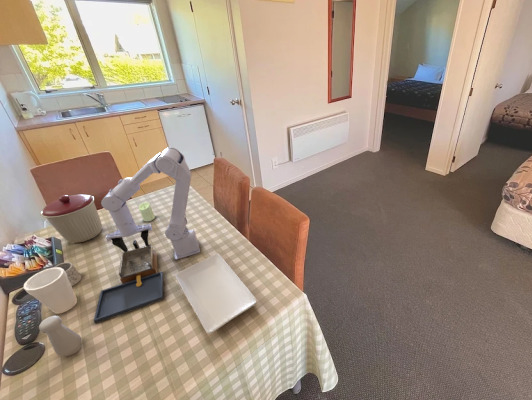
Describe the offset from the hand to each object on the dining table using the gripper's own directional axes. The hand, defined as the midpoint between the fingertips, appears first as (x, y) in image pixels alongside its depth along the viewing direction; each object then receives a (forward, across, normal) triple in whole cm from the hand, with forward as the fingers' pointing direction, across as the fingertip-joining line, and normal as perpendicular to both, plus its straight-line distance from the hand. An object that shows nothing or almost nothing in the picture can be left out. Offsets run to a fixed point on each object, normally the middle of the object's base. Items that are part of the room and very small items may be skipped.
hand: (137, 248), depth 106 cm
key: (+4, 0, +15) cm, 15 cm away
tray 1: (+5, +2, +21) cm, 21 cm away
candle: (+1, -2, -31) cm, 31 cm away
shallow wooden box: (+5, 0, +7) cm, 9 cm away
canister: (+6, +24, -30) cm, 39 cm away
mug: (+5, +25, +2) cm, 25 cm away
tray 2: (+5, -24, +33) cm, 41 cm away
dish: (+2, 0, +6) cm, 6 cm away
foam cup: (+5, +22, +14) cm, 26 cm away
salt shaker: (+5, +16, +34) cm, 38 cm away
